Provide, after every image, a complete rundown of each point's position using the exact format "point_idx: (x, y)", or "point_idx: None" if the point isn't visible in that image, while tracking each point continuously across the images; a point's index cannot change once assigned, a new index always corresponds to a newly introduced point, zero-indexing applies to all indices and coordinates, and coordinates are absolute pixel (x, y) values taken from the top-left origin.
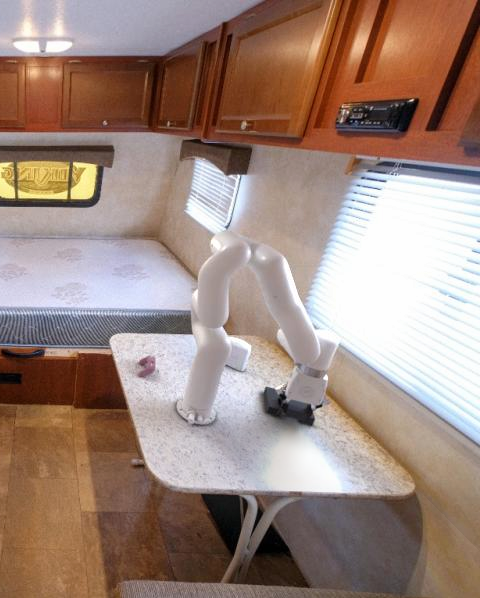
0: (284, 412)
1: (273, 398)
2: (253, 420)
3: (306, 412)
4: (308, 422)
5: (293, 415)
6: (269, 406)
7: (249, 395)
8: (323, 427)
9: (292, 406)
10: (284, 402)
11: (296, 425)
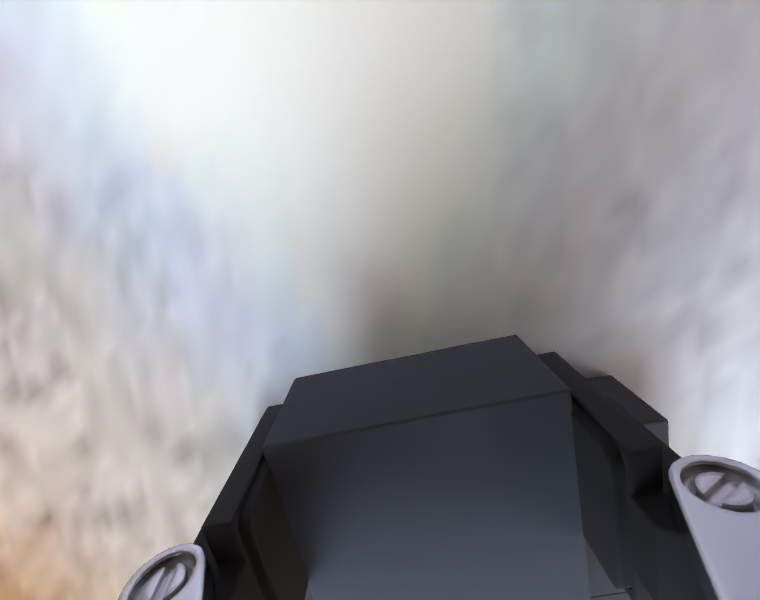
0: (548, 360)
1: None
2: (739, 186)
3: (291, 476)
4: None
5: (437, 367)
6: (662, 421)
7: None
8: (176, 473)
9: (493, 496)
10: (712, 472)
11: None
